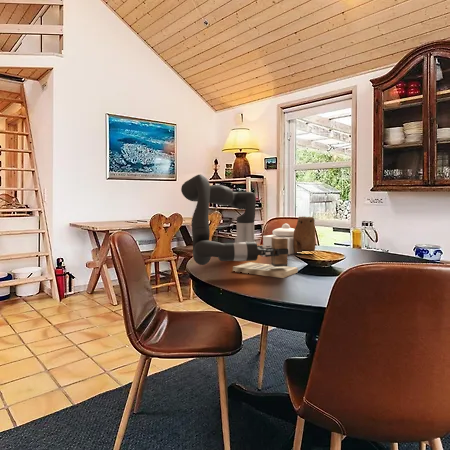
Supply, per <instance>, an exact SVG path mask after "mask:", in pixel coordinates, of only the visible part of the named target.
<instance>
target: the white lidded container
mask: <svg viewBox="0 0 450 450" xmlns="http://www.w3.org/2000/svg"><path fill="white" fill-rule="evenodd" d="M294 230H295V228H292V227H291V226H290V224H289V223H283V224H282V225H281V227H278V228H275V229H273V230H272V234H269V235H263V236H262V241H263V242H262V246H272V238H274V237H284V238H287V239H288V254H287V256H288V255H289V256H290V255H295V254H294Z"/></svg>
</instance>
